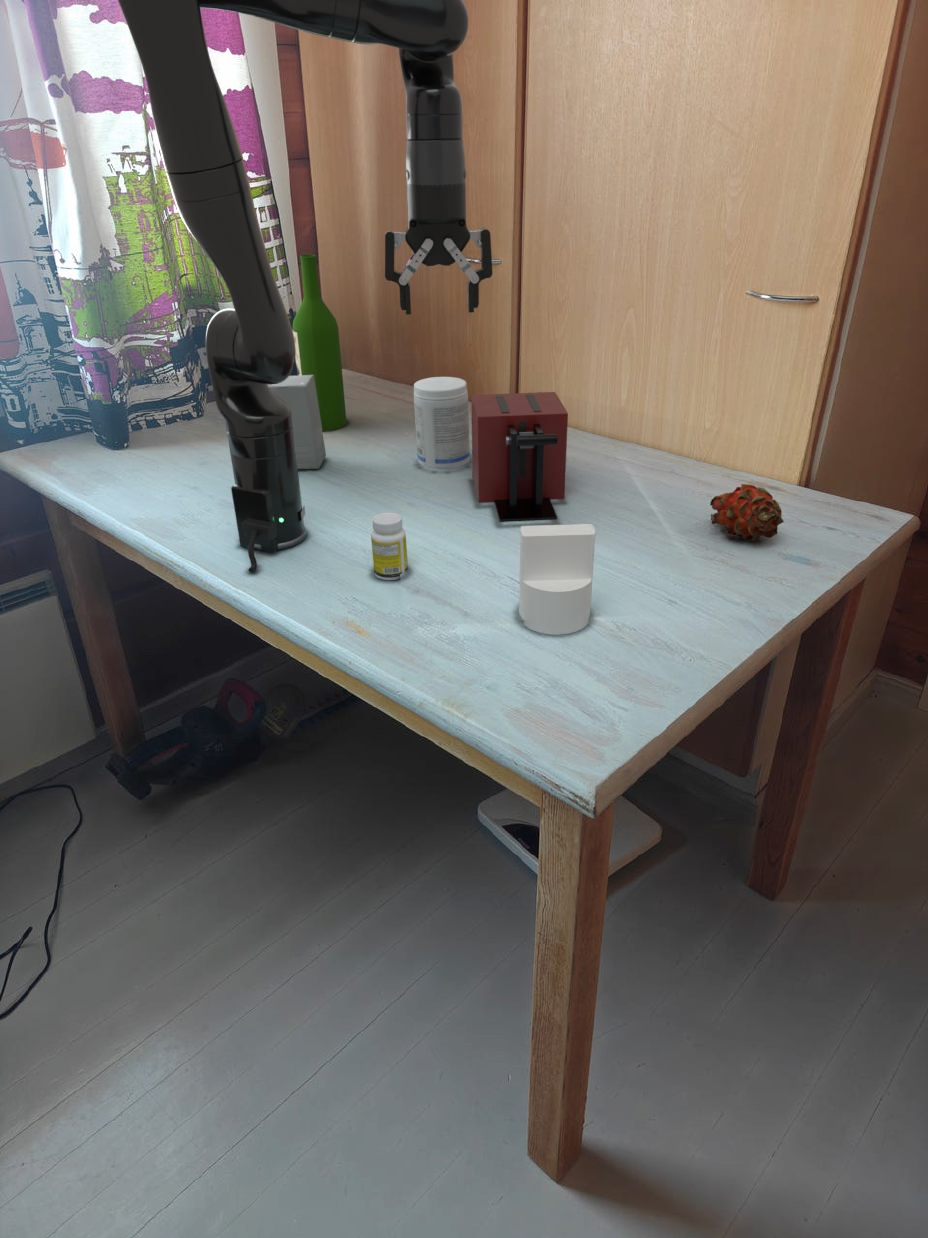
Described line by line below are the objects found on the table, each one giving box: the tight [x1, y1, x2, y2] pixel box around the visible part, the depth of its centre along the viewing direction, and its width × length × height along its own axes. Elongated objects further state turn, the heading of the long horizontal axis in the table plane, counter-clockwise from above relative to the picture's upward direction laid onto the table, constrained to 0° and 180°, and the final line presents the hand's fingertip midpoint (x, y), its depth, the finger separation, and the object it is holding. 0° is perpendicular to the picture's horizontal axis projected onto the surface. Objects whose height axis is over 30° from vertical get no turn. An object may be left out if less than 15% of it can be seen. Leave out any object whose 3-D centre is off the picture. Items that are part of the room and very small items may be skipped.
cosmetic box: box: [267, 375, 327, 470], centre depth 157 cm, size 8×7×16 cm
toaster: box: [470, 391, 569, 504], centre depth 144 cm, size 12×14×15 cm
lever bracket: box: [493, 424, 558, 523], centre depth 136 cm, size 10×9×14 cm
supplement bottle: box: [370, 512, 409, 581], centre depth 120 cm, size 5×5×8 cm
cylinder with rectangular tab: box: [518, 523, 596, 636], centre depth 108 cm, size 9×9×12 cm
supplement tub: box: [413, 376, 471, 469], centre depth 156 cm, size 10×10×15 cm
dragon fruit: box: [707, 483, 785, 542], centre depth 130 cm, size 8×8×12 cm
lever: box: [517, 432, 558, 449], centre depth 128 cm, size 14×6×2 cm, turn 4°
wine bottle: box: [292, 254, 347, 432], centre depth 173 cm, size 9×9×32 cm
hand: (439, 312), depth 120 cm, fingers open, 8 cm apart
